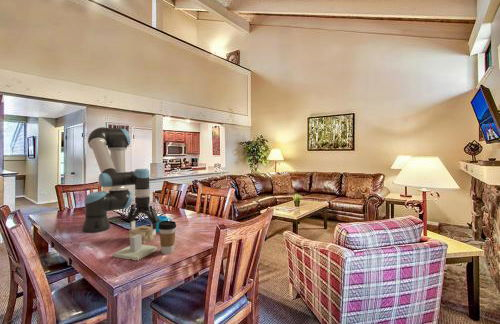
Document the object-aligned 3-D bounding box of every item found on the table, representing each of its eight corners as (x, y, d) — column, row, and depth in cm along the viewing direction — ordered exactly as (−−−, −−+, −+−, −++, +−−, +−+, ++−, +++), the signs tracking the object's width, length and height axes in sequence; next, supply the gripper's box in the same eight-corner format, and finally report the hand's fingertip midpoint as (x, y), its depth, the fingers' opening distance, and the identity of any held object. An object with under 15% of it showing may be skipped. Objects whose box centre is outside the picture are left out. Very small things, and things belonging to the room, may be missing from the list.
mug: (156, 233, 157) (156, 219, 157) (151, 230, 163) (151, 217, 163) (175, 229, 165) (175, 216, 165) (169, 226, 171) (169, 214, 171)
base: (113, 256, 122) (113, 239, 122) (134, 246, 136) (134, 230, 135) (137, 260, 118) (137, 242, 118) (157, 249, 132) (157, 233, 131)
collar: (144, 243, 140) (144, 232, 140) (129, 241, 143) (128, 230, 142) (155, 237, 149) (155, 227, 149) (141, 235, 152) (141, 225, 152)
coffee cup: (161, 248, 133) (160, 219, 132) (177, 248, 134) (177, 219, 133) (156, 255, 125) (156, 224, 124) (174, 254, 125) (174, 224, 125)
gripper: (119, 196, 145) (120, 233, 146) (157, 198, 138) (157, 237, 138) (129, 194, 152) (129, 229, 153) (165, 196, 145) (166, 233, 146)
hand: (143, 233), depth 146 cm, fingers open, 13 cm apart
